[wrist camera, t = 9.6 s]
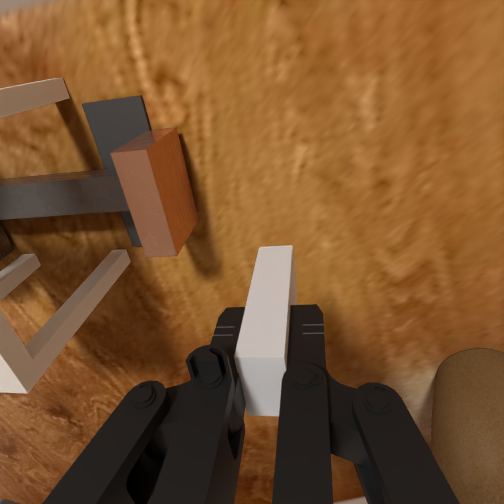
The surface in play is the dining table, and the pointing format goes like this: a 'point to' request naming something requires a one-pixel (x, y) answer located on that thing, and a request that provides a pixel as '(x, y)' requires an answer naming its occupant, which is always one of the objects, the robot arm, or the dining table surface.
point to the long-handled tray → (116, 193)
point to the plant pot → (470, 425)
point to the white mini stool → (3, 282)
